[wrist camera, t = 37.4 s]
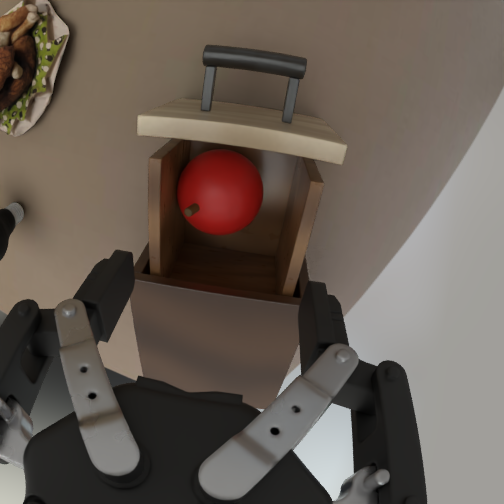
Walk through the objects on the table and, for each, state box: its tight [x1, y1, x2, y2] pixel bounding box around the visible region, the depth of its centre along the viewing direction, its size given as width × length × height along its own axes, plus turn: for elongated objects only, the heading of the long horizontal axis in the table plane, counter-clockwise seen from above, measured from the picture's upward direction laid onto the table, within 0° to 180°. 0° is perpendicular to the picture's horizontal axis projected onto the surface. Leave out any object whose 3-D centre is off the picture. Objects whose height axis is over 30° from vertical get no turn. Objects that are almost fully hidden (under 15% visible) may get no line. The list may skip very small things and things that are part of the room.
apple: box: [177, 149, 264, 235], centre depth 22 cm, size 6×6×7 cm
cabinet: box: [130, 242, 309, 409], centre depth 29 cm, size 15×13×11 cm
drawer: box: [137, 45, 347, 297], centre depth 22 cm, size 18×11×9 cm, turn 171°
